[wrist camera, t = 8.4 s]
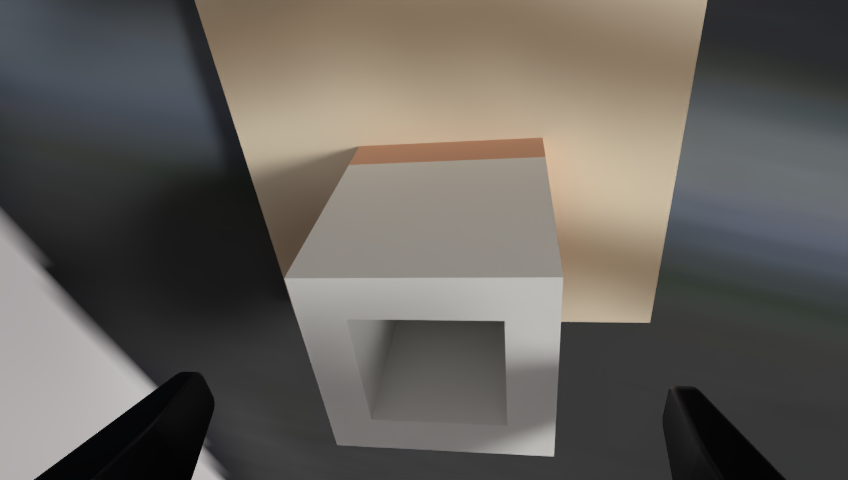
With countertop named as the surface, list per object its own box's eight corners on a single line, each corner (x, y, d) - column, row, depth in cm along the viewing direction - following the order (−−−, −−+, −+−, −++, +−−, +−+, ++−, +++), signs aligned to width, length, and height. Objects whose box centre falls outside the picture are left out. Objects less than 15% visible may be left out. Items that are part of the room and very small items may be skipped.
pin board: (641, 298, 18) (674, 398, 14) (307, 297, 20) (264, 384, 16) (789, -624, 8) (1017, -1032, 4) (89, -438, 10) (-138, -615, 6)
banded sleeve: (539, 285, 16) (553, 456, 11) (385, 286, 17) (337, 444, 12) (542, 137, 14) (562, 277, 9) (359, 146, 14) (284, 277, 10)
